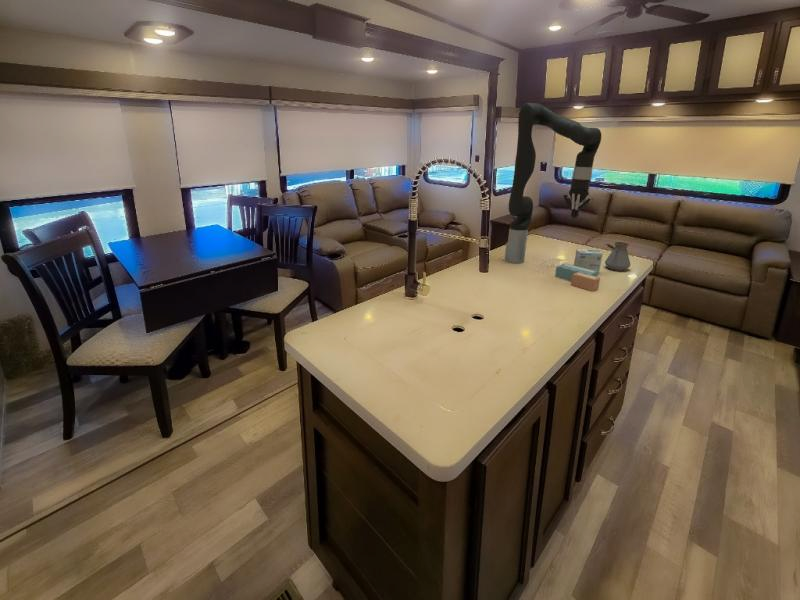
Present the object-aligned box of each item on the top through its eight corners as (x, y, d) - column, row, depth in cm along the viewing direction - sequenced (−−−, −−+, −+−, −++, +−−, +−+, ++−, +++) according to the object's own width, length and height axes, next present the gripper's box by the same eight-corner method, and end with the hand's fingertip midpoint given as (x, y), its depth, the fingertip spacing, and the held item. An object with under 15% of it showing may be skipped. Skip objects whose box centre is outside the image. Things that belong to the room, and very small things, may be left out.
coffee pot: (610, 263, 214) (616, 235, 208) (633, 269, 205) (640, 240, 200) (588, 271, 202) (594, 241, 196) (612, 277, 193) (618, 246, 188)
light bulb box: (594, 270, 203) (598, 249, 199) (599, 274, 197) (603, 253, 193) (572, 269, 204) (575, 248, 200) (576, 273, 198) (580, 252, 194)
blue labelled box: (554, 276, 194) (556, 266, 192) (563, 273, 199) (565, 263, 197) (587, 285, 183) (589, 274, 181) (596, 281, 188) (598, 271, 186)
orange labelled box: (570, 284, 183) (572, 274, 181) (576, 282, 186) (578, 271, 184) (592, 291, 176) (595, 279, 174) (598, 288, 179) (600, 277, 177)
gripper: (562, 176, 180) (556, 216, 187) (592, 179, 171) (584, 221, 177) (571, 175, 184) (565, 214, 191) (600, 178, 175) (592, 219, 182)
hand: (574, 217), depth 184 cm, fingers closed
